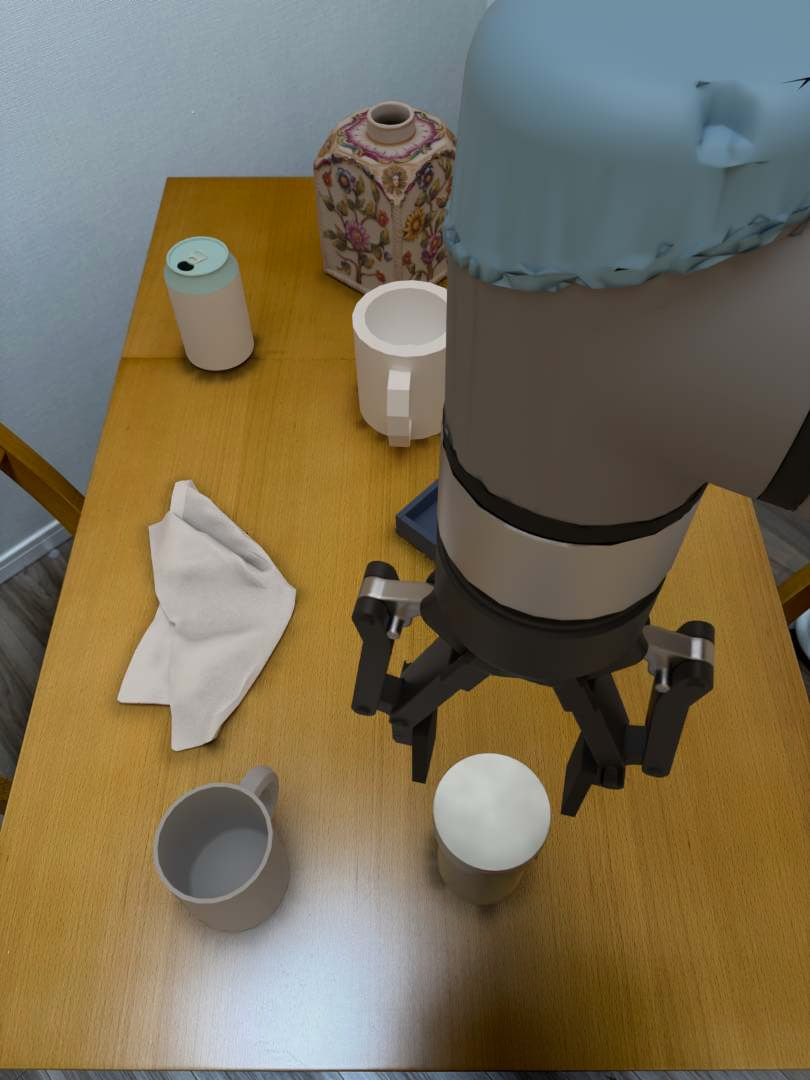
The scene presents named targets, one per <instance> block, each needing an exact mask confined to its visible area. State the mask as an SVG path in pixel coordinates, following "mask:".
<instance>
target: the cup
mask: <svg viewBox="0 0 810 1080" xmlns="http://www.w3.org/2000/svg"><path fill="white" fill-rule="evenodd" d="M279 781H280V780H279V777H278V774H277V773H276V772H275V771H274V770H273V769H272V768H271V767H270V766H269V765H256V766H252V767H251V768H250V769H249V770H248V771H247V772H246V773H245V774H244V775H243V777H242V778H241V780H240V781H239V783H238V784H235V783H230V782H211V783H207V784H203V785H198V786H196V787H194V788H193V789H191V790H189V791H187V792H185V793H183V794H181V796H180V797H178V799H176V800H175V801H174V802H173V803H172V804H171V805H170V806H169V808H168V809H167V810H166V812H165V813H164V815H162V817H161V819H160V821H159V824H158V826H157V828H156V831H155V835H154V840H153V846H152V854H153V863H154V864H153V865H154V867H155V870H156V872H157V875H158V877H159V879H160V881H162V883H163V884H164V886H165V887H166V888H167V889H168V890H169V892H170V893H171V894H172V895H173V896H174V897H175V898H176V899H177V900H178V901H179V902H180V903H181V904H182V905H183V906H184V908H186V909H187V910H188V911H189V912H190V913H191V914H192V915H193V916H194V917H195V919H197V920H199V922H202V923H203V924H204V925H206V926H207V927H209V928H211V929H213V930H217V931H220V932H224V933H239V932H243V931H247V930H250V929H253V928H254V927H256V926H258V925H259V924H262V923H263V922H265V921H266V920H267V919H269V917H270V916H271V915H272V914H273V913H274V912H275V911H276V910H277V908H278V907H279V905H280V903H281V902H282V900H283V899H284V897H285V895H286V891H287V888H288V884H289V877H290V867H289V861H288V856H287V851H286V849H285V847H284V845H283V843H282V840H281V838H280V836H279V834H278V832H277V829H276V827H275V825H274V823H273V821H272V819H273V817H274V815H275V812H276V809H277V805H278V801H279V794H280V782H279Z"/></svg>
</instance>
